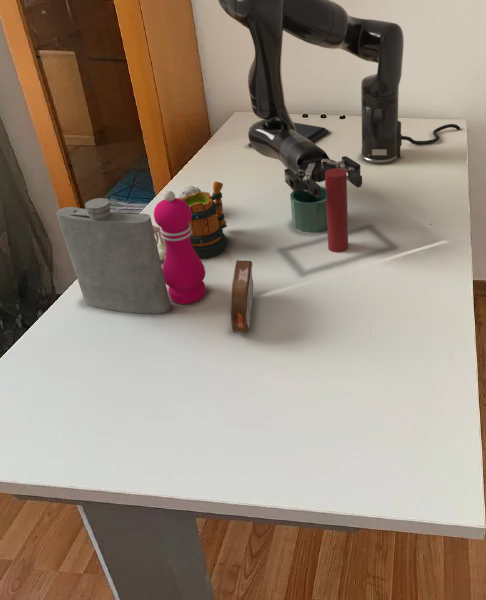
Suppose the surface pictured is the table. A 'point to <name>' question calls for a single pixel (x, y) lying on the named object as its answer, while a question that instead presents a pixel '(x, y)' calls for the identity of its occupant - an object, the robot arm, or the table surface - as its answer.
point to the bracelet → (162, 241)
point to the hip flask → (115, 258)
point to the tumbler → (309, 211)
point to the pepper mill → (179, 251)
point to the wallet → (309, 132)
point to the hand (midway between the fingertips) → (339, 187)
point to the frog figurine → (188, 191)
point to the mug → (207, 222)
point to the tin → (242, 296)
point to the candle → (336, 209)
